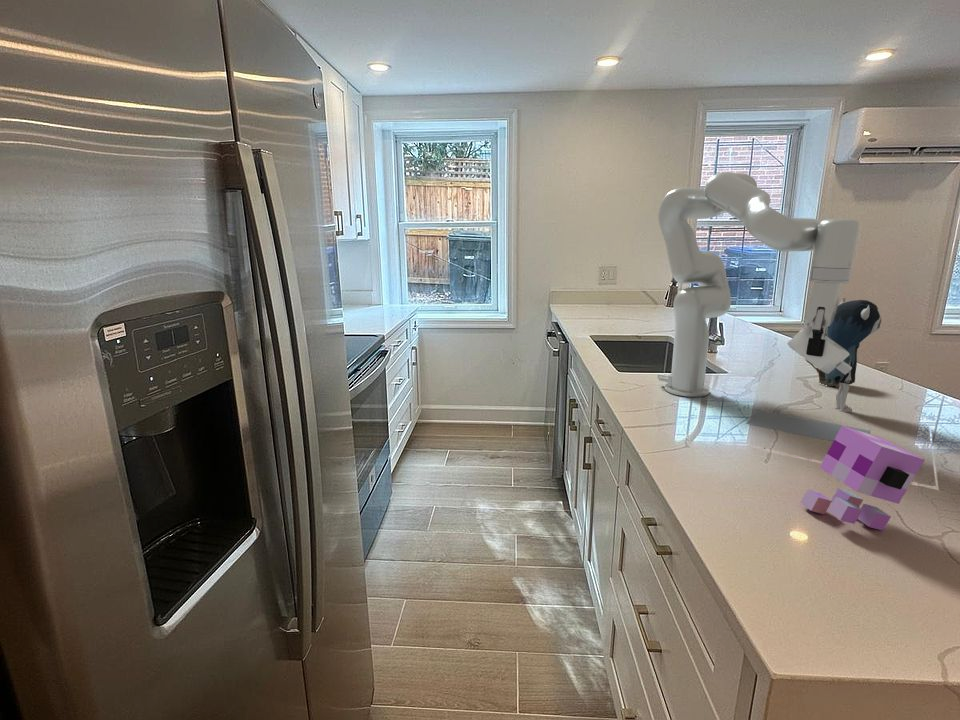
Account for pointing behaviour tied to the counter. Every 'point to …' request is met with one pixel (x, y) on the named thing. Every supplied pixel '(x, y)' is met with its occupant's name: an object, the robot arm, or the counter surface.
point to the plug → (831, 353)
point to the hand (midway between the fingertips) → (815, 352)
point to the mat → (797, 425)
